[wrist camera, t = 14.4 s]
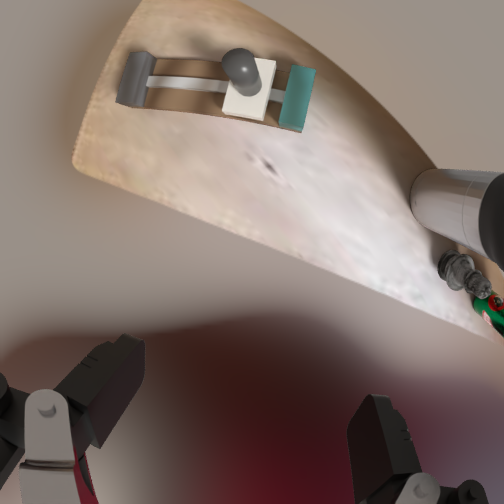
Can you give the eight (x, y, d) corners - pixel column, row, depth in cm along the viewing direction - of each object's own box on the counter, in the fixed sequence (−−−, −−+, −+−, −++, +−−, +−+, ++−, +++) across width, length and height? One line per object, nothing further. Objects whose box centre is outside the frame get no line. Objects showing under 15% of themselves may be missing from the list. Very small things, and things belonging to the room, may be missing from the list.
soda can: (467, 305, 39) (502, 338, 28) (482, 281, 38) (520, 310, 26) (480, 315, 39) (513, 347, 28) (494, 293, 38) (530, 321, 26)
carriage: (276, 66, 31) (272, 32, 21) (263, 121, 33) (254, 102, 24) (239, 60, 31) (223, 27, 22) (225, 114, 33) (203, 94, 24)
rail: (312, 81, 33) (316, 69, 29) (301, 133, 36) (303, 127, 31) (145, 62, 35) (130, 52, 30) (132, 107, 37) (115, 102, 32)
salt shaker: (438, 248, 37) (479, 274, 26) (465, 247, 37) (508, 271, 25) (434, 283, 39) (470, 317, 27) (460, 281, 38) (499, 311, 27)
